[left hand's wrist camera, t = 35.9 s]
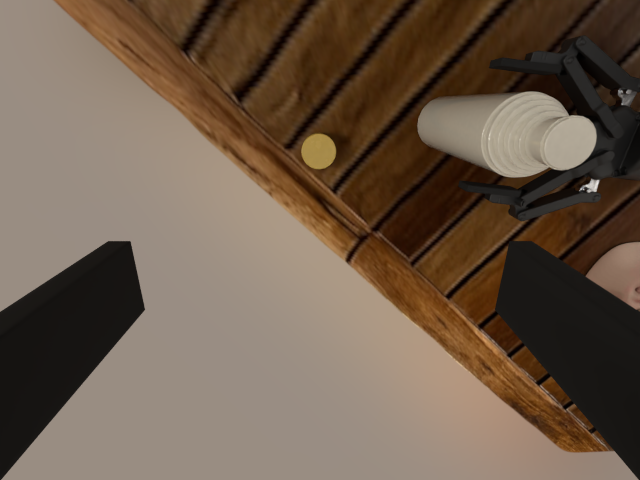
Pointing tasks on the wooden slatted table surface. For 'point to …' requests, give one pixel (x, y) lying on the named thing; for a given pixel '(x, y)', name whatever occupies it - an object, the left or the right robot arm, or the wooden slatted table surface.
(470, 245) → the wooden slatted table surface
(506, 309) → the left robot arm
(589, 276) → the anatomical model
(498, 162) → the bottle
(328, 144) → the cap
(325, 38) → the wooden slatted table surface
